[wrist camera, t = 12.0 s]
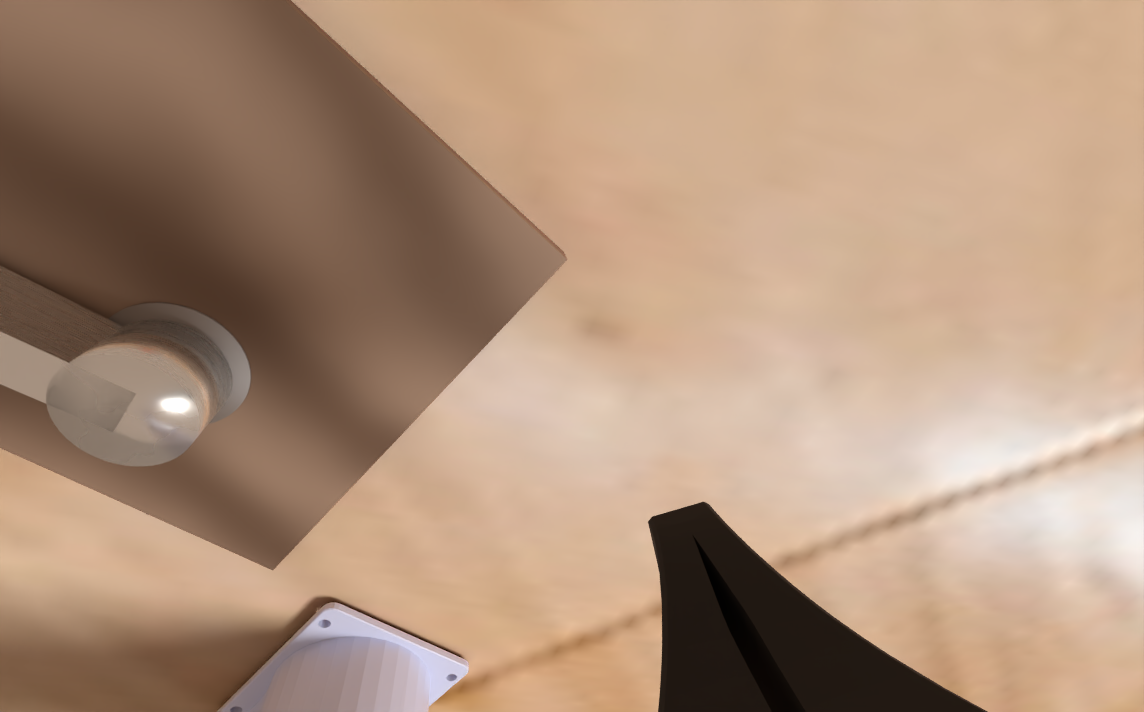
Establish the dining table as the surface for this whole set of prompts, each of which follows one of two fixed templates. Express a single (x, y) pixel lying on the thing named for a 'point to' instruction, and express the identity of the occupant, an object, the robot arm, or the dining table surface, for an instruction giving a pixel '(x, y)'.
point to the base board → (247, 245)
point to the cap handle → (110, 375)
